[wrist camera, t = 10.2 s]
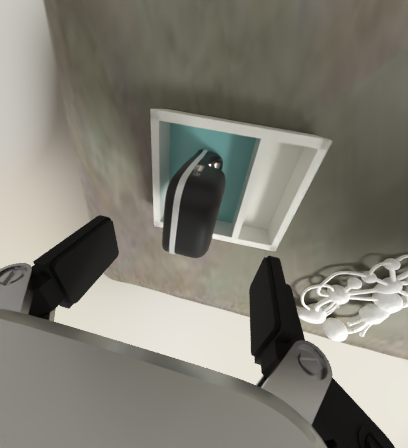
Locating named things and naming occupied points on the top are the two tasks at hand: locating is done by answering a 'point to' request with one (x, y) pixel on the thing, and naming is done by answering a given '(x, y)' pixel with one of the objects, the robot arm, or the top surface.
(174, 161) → the divided compartment box
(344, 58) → the top surface
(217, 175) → the battery charger
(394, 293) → the tangled rod sculpture
